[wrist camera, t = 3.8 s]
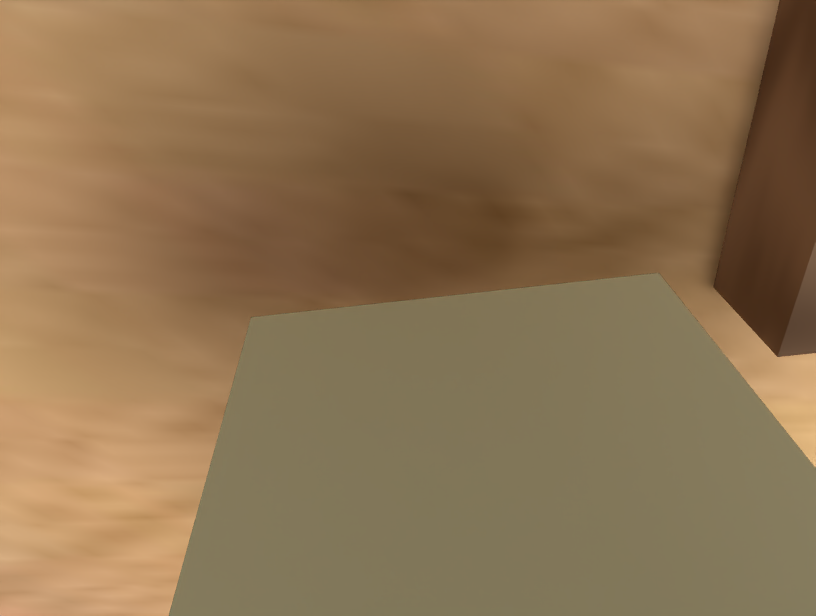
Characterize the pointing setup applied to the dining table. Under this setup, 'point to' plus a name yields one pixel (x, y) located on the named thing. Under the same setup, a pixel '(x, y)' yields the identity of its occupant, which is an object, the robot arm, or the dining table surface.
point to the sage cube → (500, 466)
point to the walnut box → (778, 195)
